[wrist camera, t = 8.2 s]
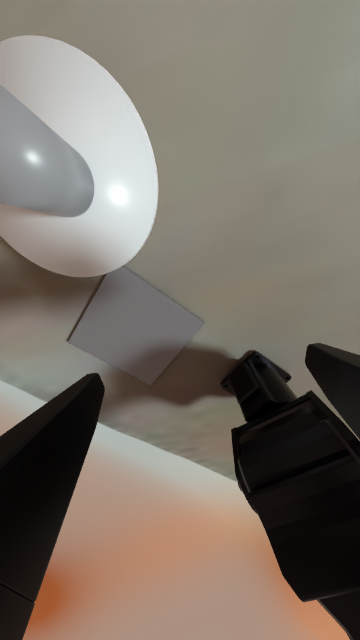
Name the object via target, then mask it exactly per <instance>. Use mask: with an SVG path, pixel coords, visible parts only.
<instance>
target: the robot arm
mask: <svg viewBox="0 0 360 640" xmlns="http://www.w3.org/2000/svg"><path fill="white" fill-rule="evenodd" d="M256 355H257V356H256ZM255 356H256V357H255ZM305 364H306V366H307V368H308V369H309V371H310V372H311V374H312V376H313V377H314V379H315V380H316V382H317V383H318V385H319V386H320V388H321V389H322V391H323V393H324V394H325V395H326V397H327V398H328V400H329V401H330V402H331V404H332V405H333V406H334V408H335V409H336V410H337V411H338V413H339V414H340V415H341V416H342V418H343V419H344V420H345V421H346V423H347V424H348V425H349V427H350V428H351V429H352V430H353V432H354V433H355V434H356V435H357V437H358V438H359V439H360V355H357V354H354V353H351V352H347V351H344V350H341V349H338V348H334V347H331V346H328V345H325V344H321V343H315V344H309V345H308V346H307V351H306V357H305ZM290 379H291V376H290V374H289V373H287V372H286V371H285V370H283V369H282V368H280V367H279V366H278V365H276V364H275V363H273V362H272V361H270V360H269V359H268V358H266V357H265V356H263V355H262V354H261V353H259V352H253V353H252V354H251V355H250V356H249V357H248V358H247V359H246V360H245V361H243V362H242V363H241V364H240V365H239V366H238V367H237V368H236V369H235V370H234V371H233V372H232V373H231V374H230V375H229V376H228V377H227V378H226V379H224V380H223V381H222V382H221V386H222V388H223V389H225V390H227V391H228V392H230V393H232V394H233V395H235V396H236V398H237V401H238V403H239V405H240V407H241V410H242V413H243V415H244V418H245V421H247V423H246V424H244V425H242V426H240V427H238V428H236V427H235V428H233V429H231V433H232V446H233V455H234V464H235V474H236V478H237V480H238V486H239V488H240V490H241V491H242V492H243V493H244V495H245V497H246V499H247V501H248V503H249V504H250V506H251V508H252V509H253V510H254V511H255V512H256V513H257V514H258V515H259V517H260V519H261V522H262V524H263V526H264V528H265V530H266V533H267V536H268V538H269V540H270V543H271V546H272V548H273V551H274V554H275V557H276V559H277V562H278V564H279V567H280V570H281V572H282V575H283V576H284V578H285V579H286V581H287V582H288V584H289V585H290V586H291V588H292V589H293V590H294V592H295V593H296V595H297V596H298V597H299V599H300V600H301V601H303V602H308V601H313V600H317V601H318V602H319V603H320V604H321V605H322V606H323V607H324V608H325V609H326V611H327V612H328V613H329V614H330V615H331V616H332V617H333V618H334V619H335V620H336V621H337V623H338V624H339V625H340V626H341V627H342V628H343V629H344V630H345V632H346V633H347V635H348V636H349V639H350V640H360V441H359V440H358V439H357V438H356V436H355V435H354V434H353V433H352V432H351V431H350V430H349V428H348V427H347V426H346V425H345V424H344V423H343V422H342V421H341V420H340V419H339V418H338V417H337V416H336V415H335V414H334V413H333V412H332V411H331V410H330V409H329V408H328V407H327V406H326V405H325V404H324V403H323V402H322V401H321V400H320V399H319V398H318V397H317V396H316V395H315V394H314V393H313V392H312V391H309V392H307V393H306V394H305V395H303V396H301V397H299V398H297V397H296V396H295V394H294V393H293V392H292V390H291V389H290V388H289V386H288V385H287V384H286V383H287V382H288V381H289V380H290ZM225 384H226V385H225ZM104 392H105V388H104V385H103V382H102V380H101V378H100V375H99V374H98V373H91V374H87V375H86V376H84V377H83V378H81V379H80V380H79V381H77V382H76V383H74V384H73V385H72V386H70V387H69V388H67V389H66V390H65V391H63V392H62V393H60V394H59V395H58V396H56V397H55V398H53V399H52V400H50V401H49V402H48V403H46V404H45V405H44V406H42V407H41V408H39V409H38V410H36V411H35V412H34V413H32V414H31V415H30V416H28V417H27V418H25V419H24V420H23V421H21V422H20V423H18V424H17V425H16V426H14V427H13V428H11V429H10V430H8V431H7V432H6V433H4V434H3V435H2V436H0V640H22V639H23V636H24V634H25V631H26V628H27V625H28V622H29V619H30V616H31V613H32V611H33V608H34V605H35V603H34V602H35V601H36V598H37V595H38V593H39V590H40V587H41V584H42V581H43V578H44V575H45V572H46V570H47V567H48V564H49V561H50V558H51V555H52V552H53V549H54V547H55V544H56V541H57V538H58V535H59V532H60V529H61V526H62V524H63V520H64V518H65V515H66V512H67V509H68V506H69V503H70V501H71V498H72V495H73V491H74V489H75V486H76V483H77V480H78V477H79V475H80V472H81V469H82V466H83V463H84V460H85V457H86V455H87V452H88V449H89V446H90V443H91V440H92V437H93V434H94V431H95V428H96V425H97V421H98V417H99V413H100V409H101V405H102V401H103V396H104Z"/></svg>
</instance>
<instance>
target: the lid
mask: <svg viewBox="0 0 360 640" xmlns="http://www.w3.org/2000/svg"><path fill="white" fill-rule="evenodd" d="M158 199H159V183H158V174H157V167H156V163H155V158H154V154H153V150H152V147H151V144H150V141H149V138H148V134H147V132H146V129H145V127H144V125H143V123H142V120H141V118H140V116H139V114H138V112H137V111H136V109H135V107H134V105H133V104H132V102H131V100H130V99H129V97H128V96H127V94H126V93H125V92H124V90H123V89H122V88H121V86H120V85H119V84H118V83H117V81H116V80H115V79H114V78H113V77H112V76H111V75H110V74H109V73H108V72H107V70H105V69H104V68H103V67H102V66H101V65H100V64H98V63H97V62H96V61H95V60H94V59H93V58H91V57H90V56H88V55H87V54H85V53H83V52H82V51H80V50H79V49H77V48H75V47H73V46H71V45H69V44H67V43H64V42H62V41H59V40H56V39H52V38H49V37H45V36H33V35H26V36H17V37H12V38H9V39H6V40H3V41H0V236H1V237H2V238H3V239H4V240H5V241H6V242H7V243H8V244H9V245H10V246H11V247H12V248H14V249H15V250H16V251H17V252H18V253H20V254H21V255H22V256H24V257H25V258H27V259H28V260H30V261H31V262H33V263H35V264H37V265H38V266H40V267H42V268H45V269H47V270H49V271H52V272H55V273H58V274H61V275H66V276H72V277H95V276H99V275H103V274H106V273H109V272H111V271H114V270H116V269H118V268H120V267H121V266H123V265H125V264H126V263H127V262H129V261H130V260H131V259H133V258H134V256H135V255H136V254H137V253H138V252H139V251H140V250H141V248H142V247H143V246H144V244H145V243H146V241H147V239H148V237H149V235H150V233H151V230H152V228H153V225H154V222H155V218H156V213H157V207H158Z"/></svg>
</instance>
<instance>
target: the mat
mask: <svg viewBox="0 0 360 640" xmlns="http://www.w3.org/2000/svg"><path fill="white" fill-rule="evenodd" d="M204 323H205V322H204V321H203V320H202V319H200V318H199V317H197V316H196V315H194V314H193V313H191V312H190V311H189V310H187V309H186V308H184V307H183V306H181V305H180V304H178V303H177V302H176V301H174V300H173V299H171V298H170V297H168V296H167V295H165V294H164V293H163V292H161V291H160V290H158V289H157V288H155V287H154V286H152V285H151V284H150V283H148V282H147V281H145V280H144V279H142V278H141V277H139V276H138V275H137V274H135V273H134V272H132V271H131V270H129V269H128V268H126V267H125V266H124V265H123V266H121V267H120V268H118V269H116V270H114V271H111V272H109V273H107V274H106V276H105V278H104V279H103V281H102V283H101V285H100V287H99V288H98V290H97V292H96V294H95V295H94V297H93V299H92V301H91V303H90V304H89V306H88V308H87V310H86V311H85V313H84V315H83V317H82V318H81V320H80V322H79V324H78V326H77V327H76V329H75V331H74V333H73V334H72V336H71V338H70V340H69V342H68V343H70V344H72V345H74V346H76V347H77V348H79V349H81V350H83V351H85V352H87V353H89V354H91V355H93V356H95V357H96V358H98V359H100V360H102V361H104V362H106V363H108V364H110V365H112V366H114V367H115V368H117V369H119V370H121V371H123V372H125V373H127V374H129V375H131V376H133V377H135V378H136V379H138V380H140V381H142V382H144V383H146V384H148V385H150V386H151V384H152V383H153V382H154V381H155V380H156V379H157V377H158V376H159V375H160V374H161V373H162V372H163V370H164V369H165V368H166V367H167V366H168V365H169V364H170V362H171V361H172V360H173V359H174V358H175V357H176V355H177V354H178V353H179V352H180V351H181V350H182V349H183V347H184V346H185V345H186V344H187V343H188V342H189V340H190V339H191V338H192V337H193V336H194V335H195V334H196V332H197V331H198V330H199V329H200V328H201V327H202V325H203V324H204Z"/></svg>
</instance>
